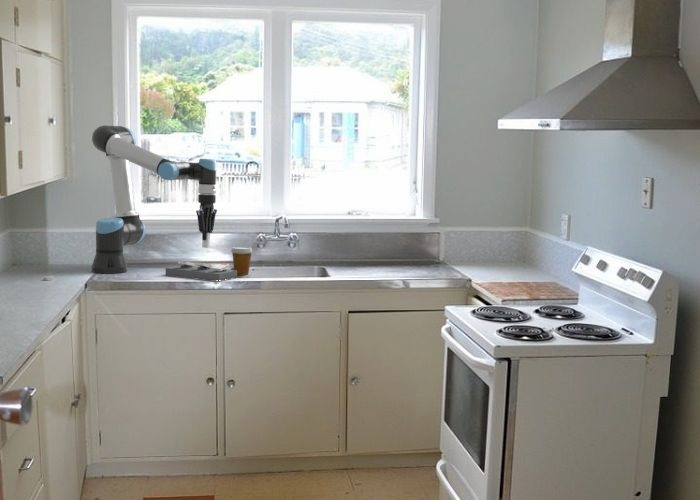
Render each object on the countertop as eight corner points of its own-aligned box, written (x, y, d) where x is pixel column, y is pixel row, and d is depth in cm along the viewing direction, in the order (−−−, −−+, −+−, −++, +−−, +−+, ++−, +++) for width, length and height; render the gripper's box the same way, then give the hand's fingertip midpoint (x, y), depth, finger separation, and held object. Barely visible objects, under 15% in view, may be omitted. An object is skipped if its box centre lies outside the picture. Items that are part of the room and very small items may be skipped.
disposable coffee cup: (248, 276, 377) (248, 249, 375) (227, 274, 379) (228, 248, 377) (254, 273, 386) (255, 247, 385) (234, 272, 388) (235, 246, 386)
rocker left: (177, 263, 373) (178, 260, 373) (186, 265, 380) (187, 262, 380) (185, 264, 372) (186, 261, 372) (194, 265, 378) (195, 262, 378)
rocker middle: (194, 264, 370) (195, 261, 370) (203, 267, 376) (203, 264, 376) (203, 265, 368) (203, 262, 368) (211, 268, 374) (212, 265, 374)
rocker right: (212, 270, 366) (211, 267, 366) (220, 265, 372) (220, 262, 372) (220, 271, 364) (220, 268, 364) (229, 266, 370) (229, 263, 370)
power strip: (165, 275, 371) (165, 266, 370) (184, 271, 383) (184, 263, 383) (219, 281, 359) (219, 272, 359) (237, 277, 372) (237, 269, 371)
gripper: (205, 195, 363) (204, 249, 366) (222, 194, 375) (221, 246, 377) (191, 194, 366) (190, 248, 369) (208, 193, 378) (207, 245, 381)
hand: (205, 247), depth 373 cm, fingers closed
